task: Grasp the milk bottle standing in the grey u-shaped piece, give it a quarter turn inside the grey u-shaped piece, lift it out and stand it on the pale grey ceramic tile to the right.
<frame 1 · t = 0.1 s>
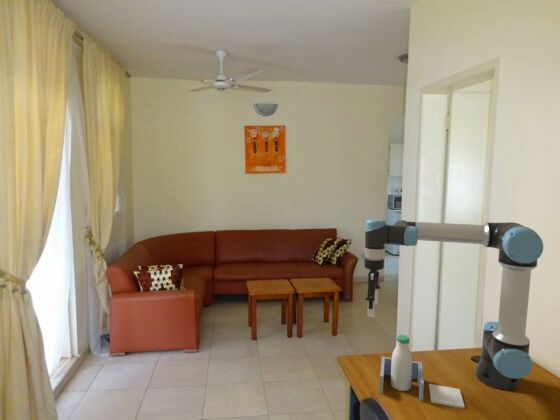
hand: (372, 310, 151), 28 cm above the table, fingers open, 13 cm apart
tile: (445, 396, 141), on the table
milk bottle: (400, 386, 147), on the table
grey u-shaped piece: (400, 385, 147), on the table
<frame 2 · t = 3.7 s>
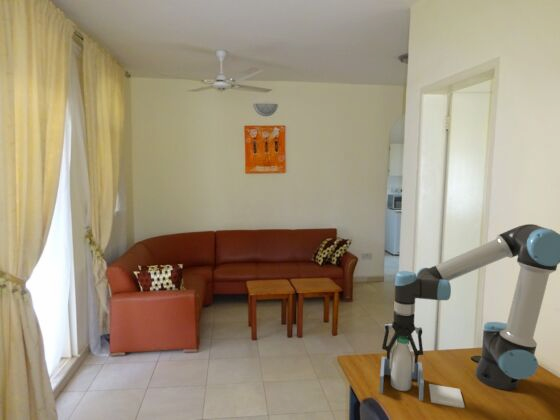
hand: (401, 368, 147), 7 cm above the table, fingers closed on milk bottle, 8 cm apart
milk bottle: (400, 386, 147), on the table, touching gripper
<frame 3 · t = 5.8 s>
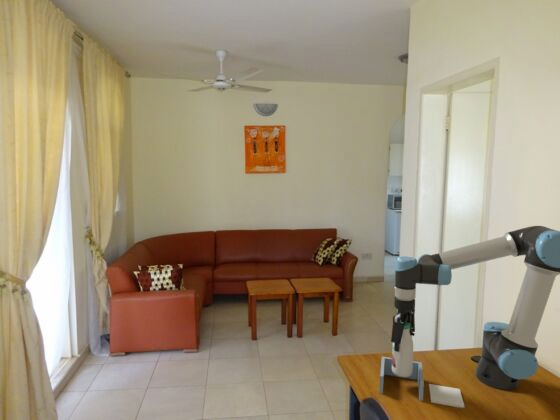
hand: (402, 354, 146), 13 cm above the table, fingers closed on milk bottle, 8 cm apart
milk bottle: (401, 372, 147), point 5 cm above the table, touching gripper
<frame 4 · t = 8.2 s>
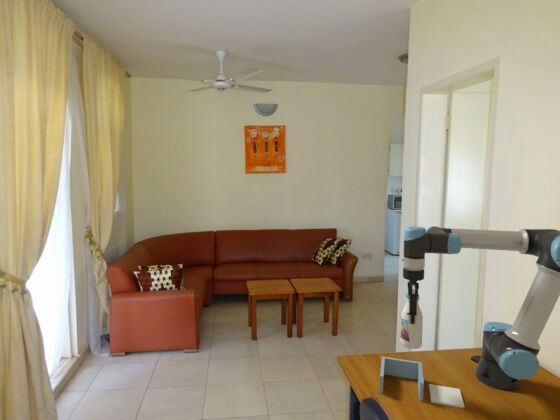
hand: (411, 326, 143), 25 cm above the table, fingers closed on milk bottle, 8 cm apart
milk bottle: (411, 345, 144), point 17 cm above the table, touching gripper
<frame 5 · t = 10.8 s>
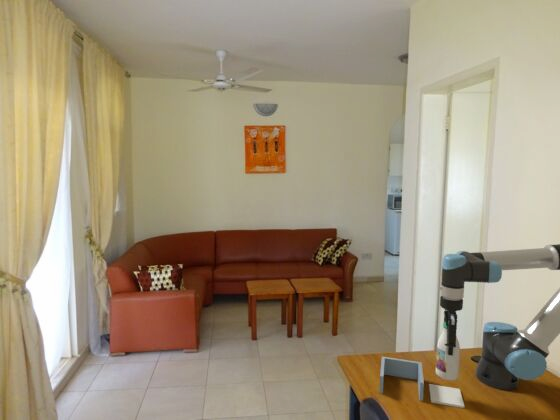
hand: (447, 356, 139), 16 cm above the table, fingers closed on milk bottle, 8 cm apart
milk bottle: (446, 375, 140), point 8 cm above the table, touching gripper
when the fingers open (9 cm above the table, at t = 12.9 s): milk bottle drops 1 cm, resting on tile.
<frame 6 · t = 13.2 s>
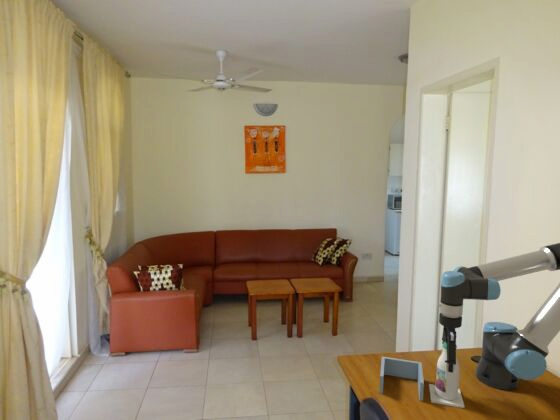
hand: (447, 370, 140), 10 cm above the table, fingers open, 12 cm apart
milk bottle: (446, 394, 141), point 1 cm above the table, touching tile
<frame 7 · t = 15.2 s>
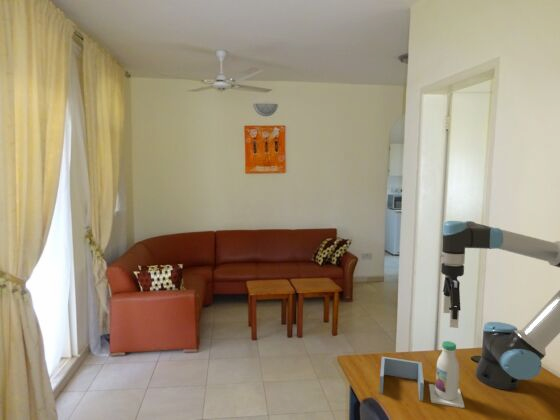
hand: (450, 319, 140), 29 cm above the table, fingers open, 13 cm apart
nothing on the table moved.
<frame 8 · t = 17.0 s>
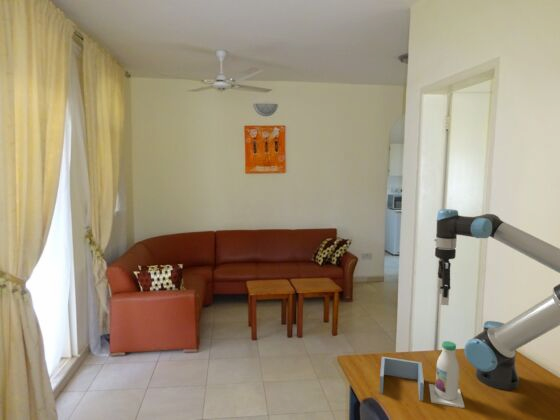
hand: (442, 299, 153), 32 cm above the table, fingers open, 13 cm apart
nothing on the table moved.
at the end: milk bottle inside the target area on the tile (0.1 cm from its centre), point 0.6 cm above the tile's base; milk bottle tilted 0°; the gripper is holding nothing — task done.
